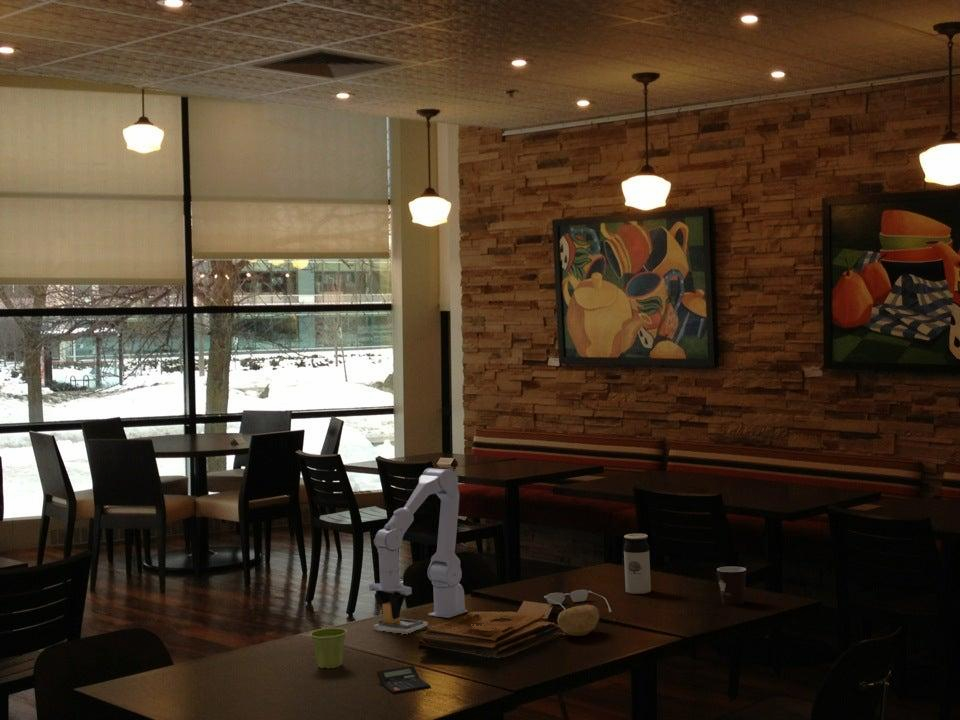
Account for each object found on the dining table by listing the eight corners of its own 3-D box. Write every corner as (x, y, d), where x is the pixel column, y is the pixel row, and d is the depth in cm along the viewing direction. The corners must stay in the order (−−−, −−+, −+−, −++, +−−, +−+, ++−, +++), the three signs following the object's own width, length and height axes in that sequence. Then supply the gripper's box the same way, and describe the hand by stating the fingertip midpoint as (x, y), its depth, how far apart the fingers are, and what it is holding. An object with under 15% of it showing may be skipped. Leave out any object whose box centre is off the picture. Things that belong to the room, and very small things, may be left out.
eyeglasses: (590, 601, 366) (589, 588, 366) (614, 613, 349) (614, 599, 349) (544, 607, 361) (543, 594, 361) (566, 619, 344) (566, 605, 344)
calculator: (393, 695, 275) (392, 682, 275) (377, 683, 286) (376, 670, 286) (430, 689, 279) (429, 676, 279) (413, 677, 290) (412, 665, 290)
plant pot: (318, 673, 296) (317, 638, 296) (306, 664, 304) (305, 631, 304) (353, 667, 300) (352, 633, 300) (340, 659, 309) (339, 626, 309)
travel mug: (633, 588, 380) (630, 532, 380) (655, 590, 376) (652, 534, 375) (621, 593, 374) (618, 536, 374) (643, 595, 369) (641, 538, 369)
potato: (610, 632, 325) (609, 603, 325) (577, 642, 315) (576, 613, 315) (582, 627, 332) (581, 598, 332) (550, 637, 322) (548, 608, 321)
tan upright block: (392, 619, 344) (391, 600, 344) (400, 620, 342) (399, 601, 342) (383, 622, 340) (382, 603, 340) (391, 623, 339) (390, 604, 339)
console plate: (396, 622, 347) (396, 615, 347) (428, 627, 340) (427, 619, 340) (373, 630, 339) (373, 622, 339) (405, 634, 332) (405, 626, 331)
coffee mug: (750, 605, 350) (748, 571, 350) (721, 606, 350) (719, 572, 350) (742, 596, 361) (741, 564, 361) (714, 597, 362) (712, 565, 361)
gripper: (361, 571, 342) (363, 617, 342) (399, 575, 333) (401, 623, 334) (377, 566, 348) (379, 612, 348) (415, 570, 339) (417, 617, 339)
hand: (391, 617), depth 341 cm, fingers closed on tan upright block, 3 cm apart
